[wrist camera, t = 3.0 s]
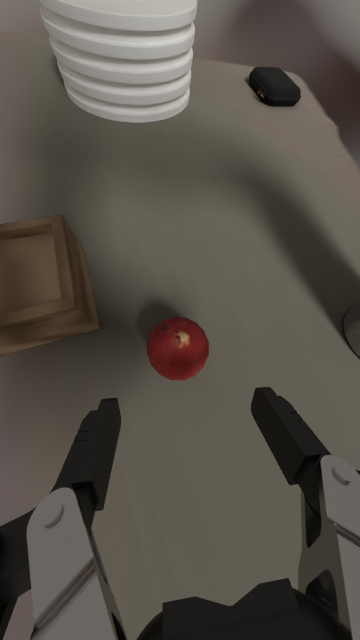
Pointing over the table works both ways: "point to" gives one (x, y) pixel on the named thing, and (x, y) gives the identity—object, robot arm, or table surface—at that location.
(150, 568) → the table surface
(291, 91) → the carrying case or bag
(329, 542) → the robot arm
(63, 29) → the plate stack
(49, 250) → the wooden tray
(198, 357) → the onion
